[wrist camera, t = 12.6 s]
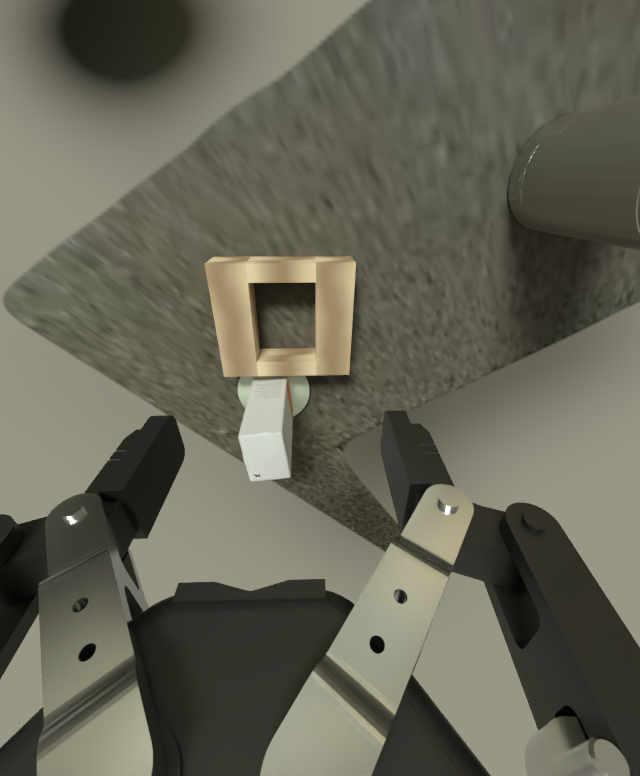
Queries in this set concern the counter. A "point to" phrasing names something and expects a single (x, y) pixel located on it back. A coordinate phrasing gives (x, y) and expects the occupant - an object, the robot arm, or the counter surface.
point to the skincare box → (268, 429)
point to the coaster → (297, 391)
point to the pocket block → (240, 324)
